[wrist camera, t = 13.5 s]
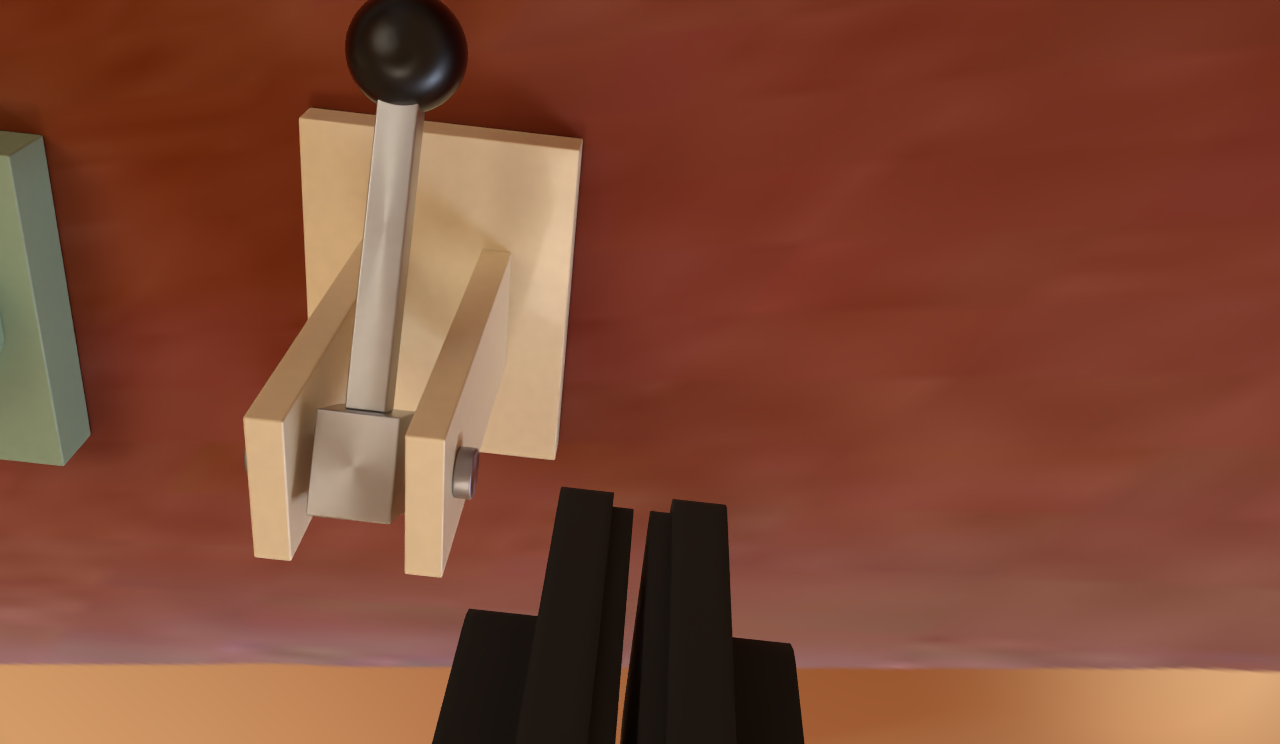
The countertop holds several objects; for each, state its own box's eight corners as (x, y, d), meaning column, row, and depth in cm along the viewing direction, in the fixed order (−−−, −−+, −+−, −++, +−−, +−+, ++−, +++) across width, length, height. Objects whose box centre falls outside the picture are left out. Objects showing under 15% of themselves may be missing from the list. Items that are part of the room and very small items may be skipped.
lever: (367, 2, 32) (338, -36, 28) (481, 16, 32) (464, -21, 28) (315, 498, 32) (281, 515, 29) (427, 510, 32) (405, 529, 29)
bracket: (309, 106, 37) (143, 267, 26) (583, 138, 37) (535, 311, 26) (322, 417, 43) (191, 656, 32) (558, 443, 43) (510, 690, 32)
